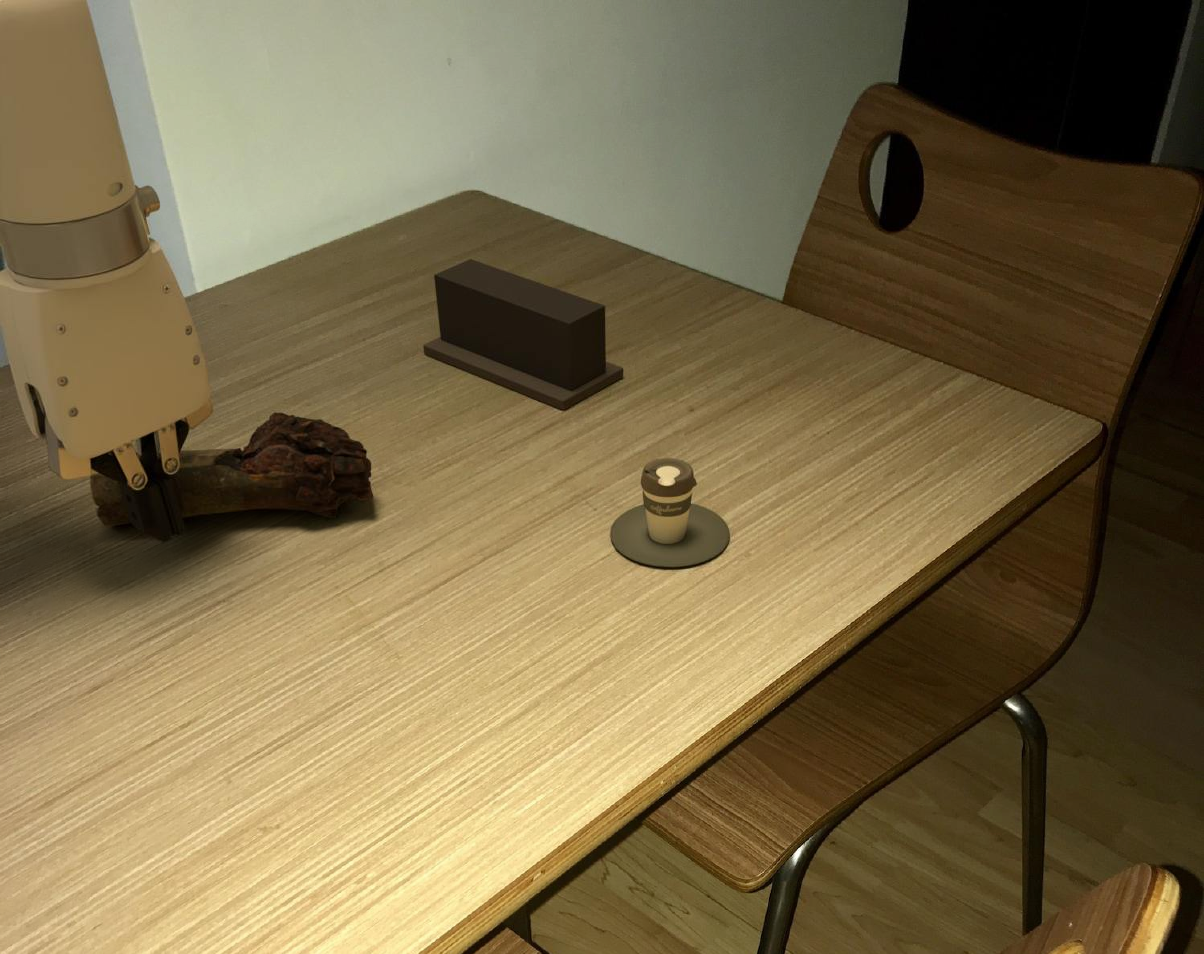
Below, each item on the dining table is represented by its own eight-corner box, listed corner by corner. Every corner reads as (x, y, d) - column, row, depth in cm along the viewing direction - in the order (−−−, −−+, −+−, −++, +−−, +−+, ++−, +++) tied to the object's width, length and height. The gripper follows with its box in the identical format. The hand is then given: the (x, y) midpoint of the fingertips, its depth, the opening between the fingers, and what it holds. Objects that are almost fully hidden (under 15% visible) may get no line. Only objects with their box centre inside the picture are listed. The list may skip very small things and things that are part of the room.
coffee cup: (743, 484, 88) (747, 416, 84) (773, 585, 79) (779, 515, 76) (567, 493, 87) (565, 426, 84) (578, 596, 79) (576, 525, 75)
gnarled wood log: (102, 539, 84) (77, 461, 80) (124, 487, 89) (100, 411, 85) (374, 526, 85) (361, 447, 81) (381, 474, 89) (369, 398, 86)
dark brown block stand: (423, 354, 103) (415, 279, 99) (485, 324, 107) (479, 251, 102) (563, 411, 96) (560, 332, 92) (623, 377, 99) (623, 300, 95)
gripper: (150, 181, 75) (221, 465, 88) (-93, 260, 67) (24, 560, 80) (229, 210, 71) (291, 502, 84) (-18, 298, 63) (92, 605, 76)
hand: (161, 529), depth 82 cm, fingers closed
